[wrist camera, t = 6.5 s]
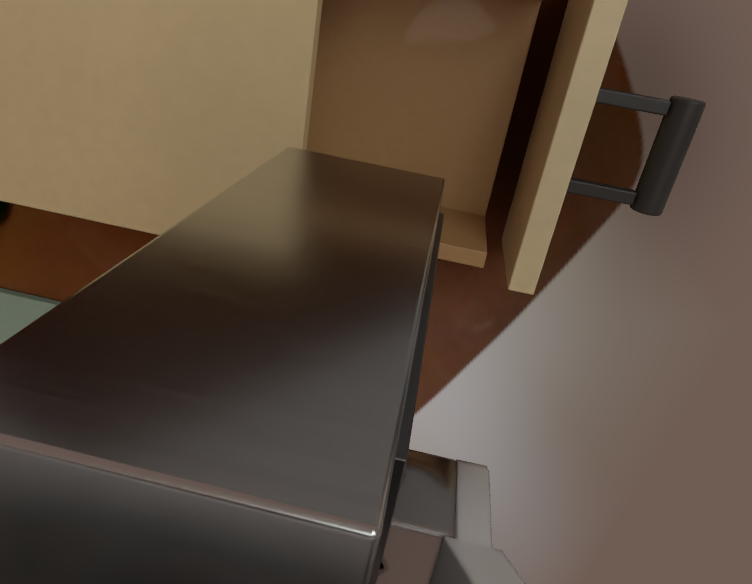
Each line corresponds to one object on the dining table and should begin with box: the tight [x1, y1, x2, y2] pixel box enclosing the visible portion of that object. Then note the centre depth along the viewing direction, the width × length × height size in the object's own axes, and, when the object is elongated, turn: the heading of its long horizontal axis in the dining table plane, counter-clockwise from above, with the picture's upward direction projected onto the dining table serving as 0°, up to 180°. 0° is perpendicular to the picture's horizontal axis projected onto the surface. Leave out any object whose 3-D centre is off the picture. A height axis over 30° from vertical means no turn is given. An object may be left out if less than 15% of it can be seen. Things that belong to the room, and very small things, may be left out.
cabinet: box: [0, 0, 323, 235], centre depth 28 cm, size 15×15×9 cm
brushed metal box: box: [0, 147, 445, 584], centre depth 12 cm, size 5×6×12 cm
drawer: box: [307, 0, 706, 295], centre depth 27 cm, size 18×13×7 cm
